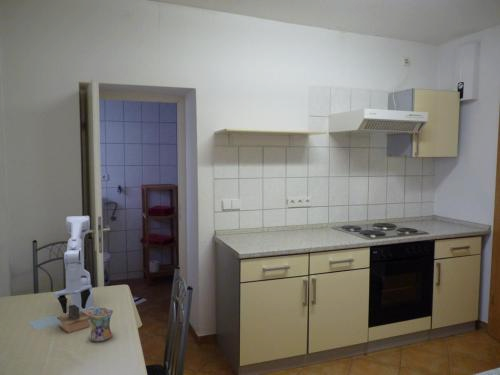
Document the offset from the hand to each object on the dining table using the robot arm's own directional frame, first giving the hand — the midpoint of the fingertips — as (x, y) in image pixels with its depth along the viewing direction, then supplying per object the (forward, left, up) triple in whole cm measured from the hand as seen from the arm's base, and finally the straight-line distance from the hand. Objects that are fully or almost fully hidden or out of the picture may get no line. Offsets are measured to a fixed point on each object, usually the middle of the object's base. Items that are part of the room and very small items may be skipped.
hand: (74, 310), depth 167 cm
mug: (-4, +15, -8) cm, 17 cm away
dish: (0, 0, -8) cm, 8 cm away
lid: (0, 0, -4) cm, 4 cm away
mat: (+7, -13, -8) cm, 17 cm away
